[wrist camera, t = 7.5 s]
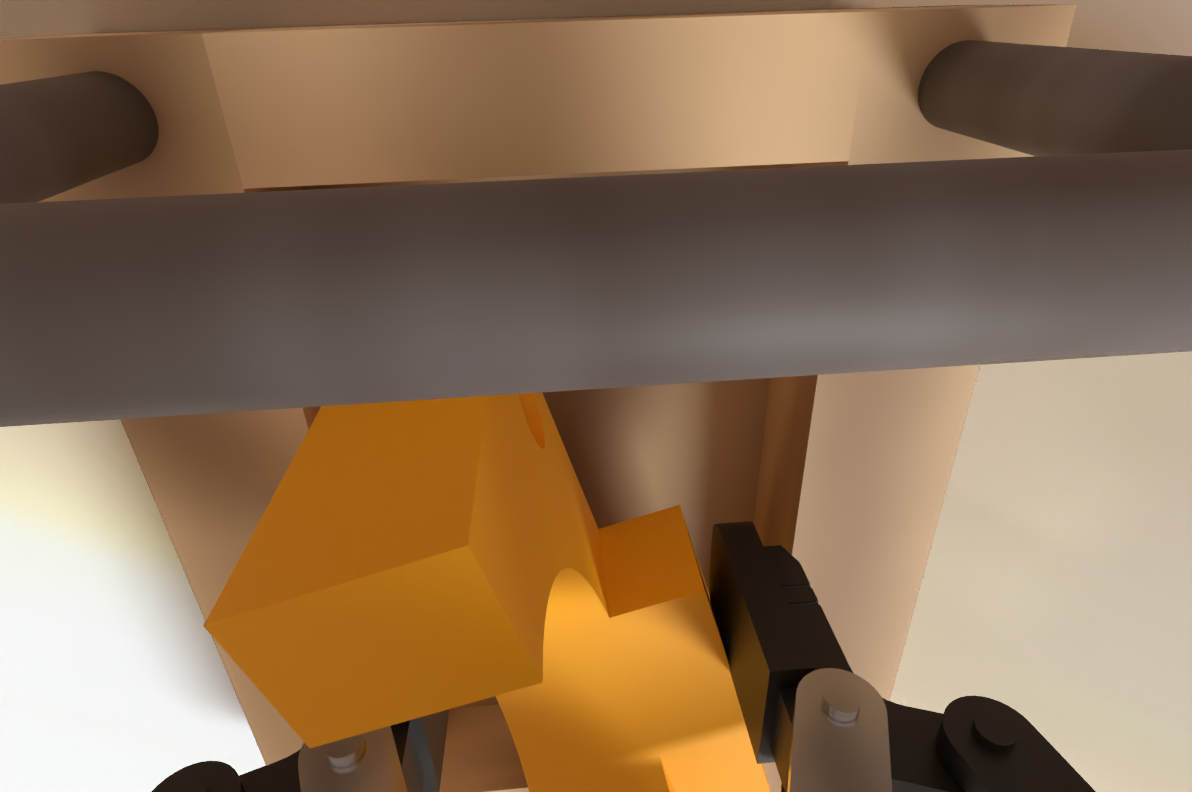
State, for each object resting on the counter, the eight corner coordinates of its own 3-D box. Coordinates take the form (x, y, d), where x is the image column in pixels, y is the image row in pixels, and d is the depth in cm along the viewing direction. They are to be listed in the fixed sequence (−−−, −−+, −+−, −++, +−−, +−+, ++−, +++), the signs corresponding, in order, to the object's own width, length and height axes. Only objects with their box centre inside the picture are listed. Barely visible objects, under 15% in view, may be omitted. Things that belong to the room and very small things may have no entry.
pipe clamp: (743, 698, 17) (842, 1026, 12) (578, 743, 18) (598, 1083, 12) (598, 256, 12) (657, 487, 6) (358, 336, 12) (202, 626, 6)
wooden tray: (962, 5, 12) (2398, -2, 3) (822, 704, 22) (1053, 1253, 12) (89, 34, 12) (-2012, 159, 2) (332, 749, 21) (164, 1378, 11)
